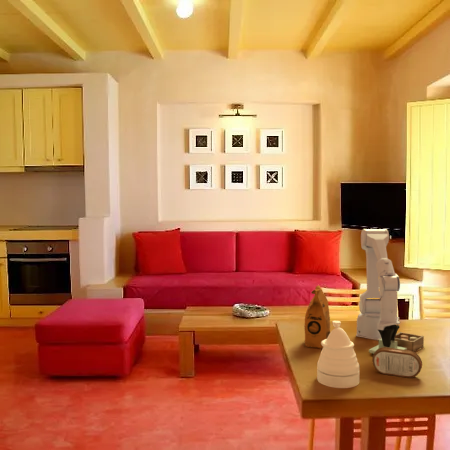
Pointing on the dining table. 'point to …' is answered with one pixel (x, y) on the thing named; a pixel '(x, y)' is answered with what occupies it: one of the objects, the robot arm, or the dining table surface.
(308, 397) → the dining table surface
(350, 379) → the honey pot
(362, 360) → the dining table surface
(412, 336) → the crate
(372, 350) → the lid
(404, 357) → the tin
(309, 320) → the coffee package
